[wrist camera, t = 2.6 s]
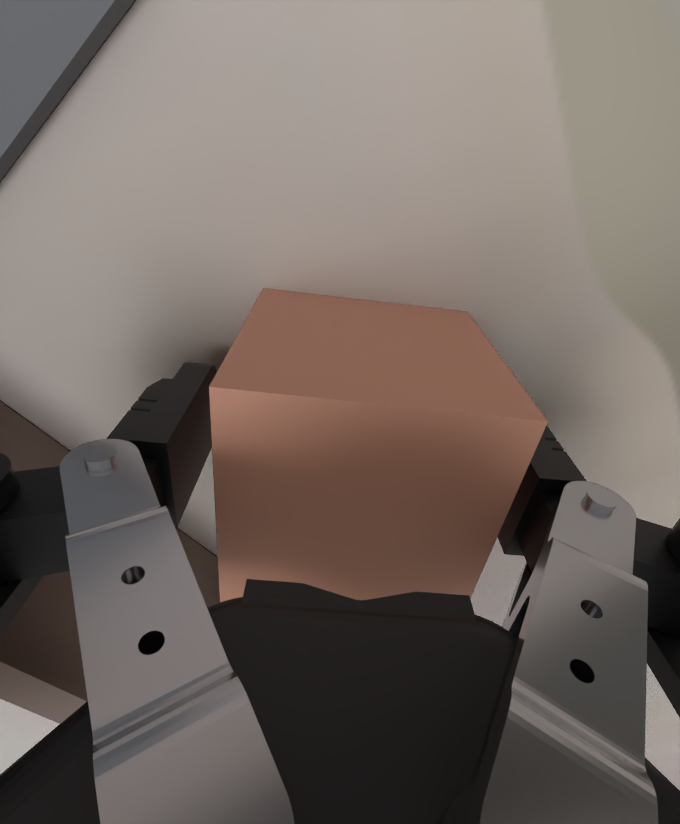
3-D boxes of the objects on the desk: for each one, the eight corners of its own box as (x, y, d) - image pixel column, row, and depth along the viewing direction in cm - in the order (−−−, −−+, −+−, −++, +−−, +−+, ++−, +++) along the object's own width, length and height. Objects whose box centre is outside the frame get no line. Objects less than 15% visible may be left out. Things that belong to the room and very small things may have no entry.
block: (466, 310, 12) (548, 421, 7) (423, 467, 15) (461, 620, 10) (263, 287, 11) (209, 386, 7) (260, 452, 14) (220, 601, 10)
